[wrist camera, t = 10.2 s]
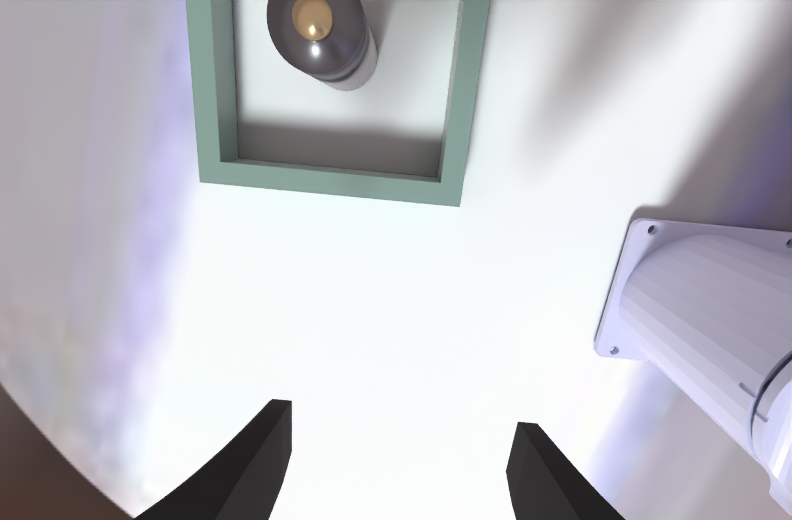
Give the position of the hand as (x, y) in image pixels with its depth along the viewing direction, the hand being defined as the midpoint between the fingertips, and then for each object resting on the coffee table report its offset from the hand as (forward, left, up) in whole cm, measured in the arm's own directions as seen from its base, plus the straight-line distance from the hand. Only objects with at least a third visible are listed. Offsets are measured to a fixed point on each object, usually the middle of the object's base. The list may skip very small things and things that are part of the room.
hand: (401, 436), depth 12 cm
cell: (+4, -12, -10) cm, 16 cm away
